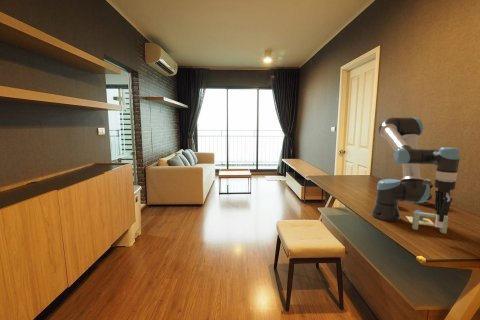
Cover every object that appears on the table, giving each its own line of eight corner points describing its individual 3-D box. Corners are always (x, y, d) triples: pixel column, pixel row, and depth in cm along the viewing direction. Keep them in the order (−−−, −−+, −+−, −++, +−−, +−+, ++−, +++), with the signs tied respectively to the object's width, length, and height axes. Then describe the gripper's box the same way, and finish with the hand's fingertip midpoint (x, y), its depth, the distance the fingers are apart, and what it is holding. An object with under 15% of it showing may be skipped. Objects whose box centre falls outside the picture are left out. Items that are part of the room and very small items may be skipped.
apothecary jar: (428, 202, 182) (431, 178, 180) (433, 206, 171) (436, 181, 169) (409, 200, 187) (411, 177, 185) (412, 204, 176) (415, 180, 174)
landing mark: (411, 223, 140) (411, 223, 140) (405, 216, 152) (405, 216, 152) (436, 226, 136) (436, 226, 136) (428, 219, 147) (428, 218, 147)
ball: (413, 220, 148) (415, 215, 144) (411, 213, 152) (413, 207, 148) (423, 221, 146) (426, 216, 142) (422, 214, 150) (424, 208, 146)
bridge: (446, 233, 127) (448, 216, 126) (413, 229, 132) (415, 213, 131) (444, 231, 130) (446, 214, 129) (411, 227, 135) (413, 211, 134)
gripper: (462, 184, 108) (454, 234, 111) (449, 177, 120) (442, 223, 123) (441, 182, 110) (434, 231, 114) (430, 176, 122) (425, 220, 126)
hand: (438, 227), depth 119 cm, fingers closed
